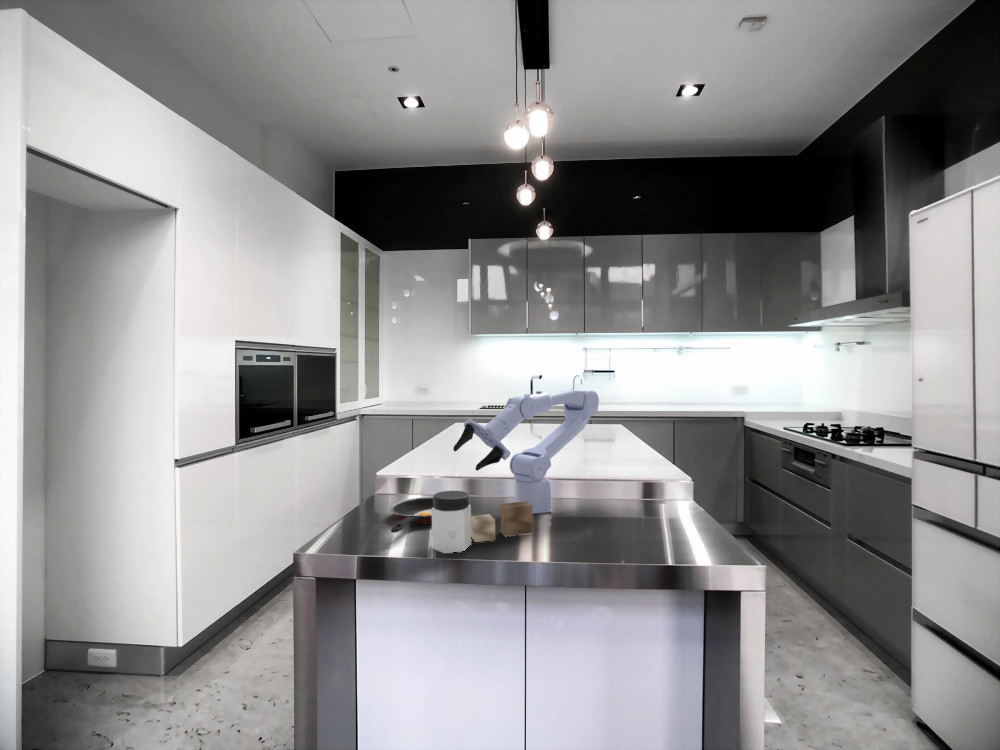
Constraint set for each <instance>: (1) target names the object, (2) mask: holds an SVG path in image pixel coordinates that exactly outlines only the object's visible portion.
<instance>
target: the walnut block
mask: <svg viewBox="0 0 1000 750" xmlns="http://www.w3.org/2000/svg"><path fill="white" fill-rule="evenodd" d="M499 509H500V510H499V511H500V532H502V533H503V534H502V533H501V534H502V535H503V536H504V537H505V538H507V536H509V537H515V536H516V535H518V536H524V535H533V534H534V530H533V529H534V528H533V527H534V525H533V524H534V522H533V521H534V519H533V516H534V514H533V507H532V505H531V504H530V503H529V502H527V501H526V502H516V501H515V502H508V503H507V502H505V503H500V508H499Z"/></svg>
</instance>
